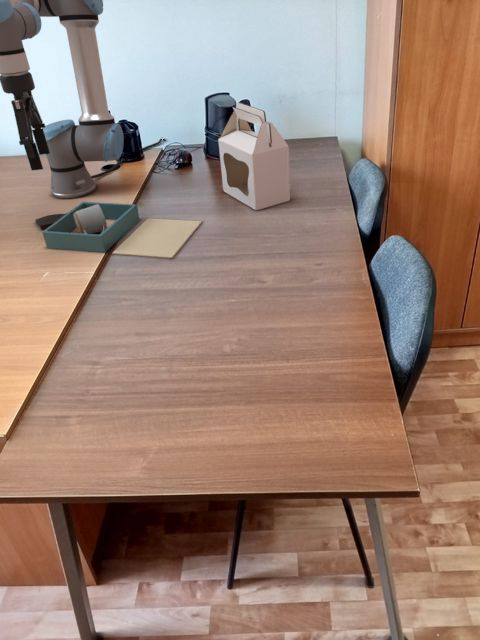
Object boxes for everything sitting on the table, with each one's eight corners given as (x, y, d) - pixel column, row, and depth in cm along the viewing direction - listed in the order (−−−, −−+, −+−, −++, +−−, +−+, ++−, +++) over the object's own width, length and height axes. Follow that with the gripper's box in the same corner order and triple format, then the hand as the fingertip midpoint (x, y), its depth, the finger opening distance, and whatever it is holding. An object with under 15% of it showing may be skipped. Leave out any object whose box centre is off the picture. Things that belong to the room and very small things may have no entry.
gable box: (222, 191, 183) (214, 104, 166) (255, 182, 188) (250, 97, 171) (256, 211, 167) (250, 117, 151) (290, 201, 173) (288, 109, 156)
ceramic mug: (76, 230, 163) (70, 206, 158) (103, 224, 165) (97, 200, 161) (85, 244, 155) (78, 219, 150) (112, 236, 158) (106, 212, 153)
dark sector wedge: (84, 220, 169) (82, 215, 168) (40, 231, 164) (39, 226, 163) (77, 211, 175) (76, 207, 174) (35, 222, 170) (33, 217, 169)
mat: (148, 219, 167) (147, 218, 167) (201, 222, 163) (201, 221, 163) (112, 254, 149) (112, 252, 148) (172, 258, 144) (171, 257, 144)
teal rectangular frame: (86, 216, 171) (82, 201, 168) (139, 219, 167) (136, 204, 164) (47, 248, 154) (41, 232, 151) (105, 252, 150) (101, 236, 147)
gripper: (8, 66, 138) (33, 149, 151) (-13, 84, 119) (18, 178, 131) (37, 63, 139) (60, 146, 152) (21, 81, 120) (49, 174, 132)
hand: (41, 161), depth 142 cm, fingers open, 13 cm apart
